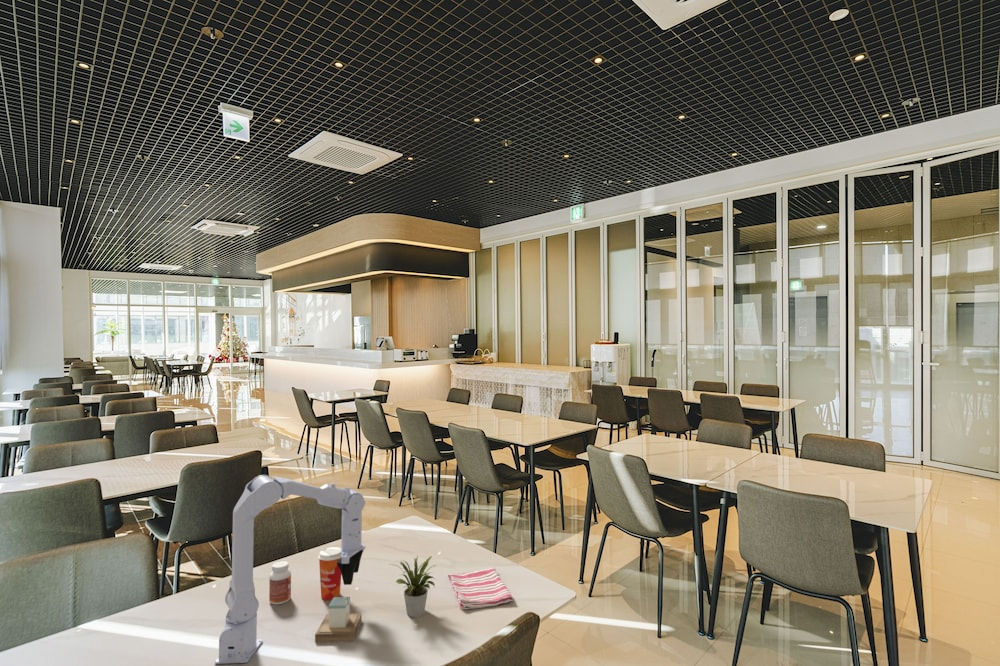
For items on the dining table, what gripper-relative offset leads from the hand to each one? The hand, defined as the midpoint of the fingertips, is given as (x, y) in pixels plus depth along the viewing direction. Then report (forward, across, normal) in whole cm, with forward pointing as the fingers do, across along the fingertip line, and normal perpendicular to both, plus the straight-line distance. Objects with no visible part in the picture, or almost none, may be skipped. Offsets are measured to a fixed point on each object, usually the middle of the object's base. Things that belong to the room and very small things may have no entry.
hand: (351, 578), depth 148 cm
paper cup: (+11, +11, +9) cm, 18 cm away
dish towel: (+11, +13, -38) cm, 42 cm away
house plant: (+11, -1, -18) cm, 21 cm away
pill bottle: (+11, +9, +24) cm, 28 cm away
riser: (+10, -9, +1) cm, 14 cm away
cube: (+8, -9, +1) cm, 12 cm away
